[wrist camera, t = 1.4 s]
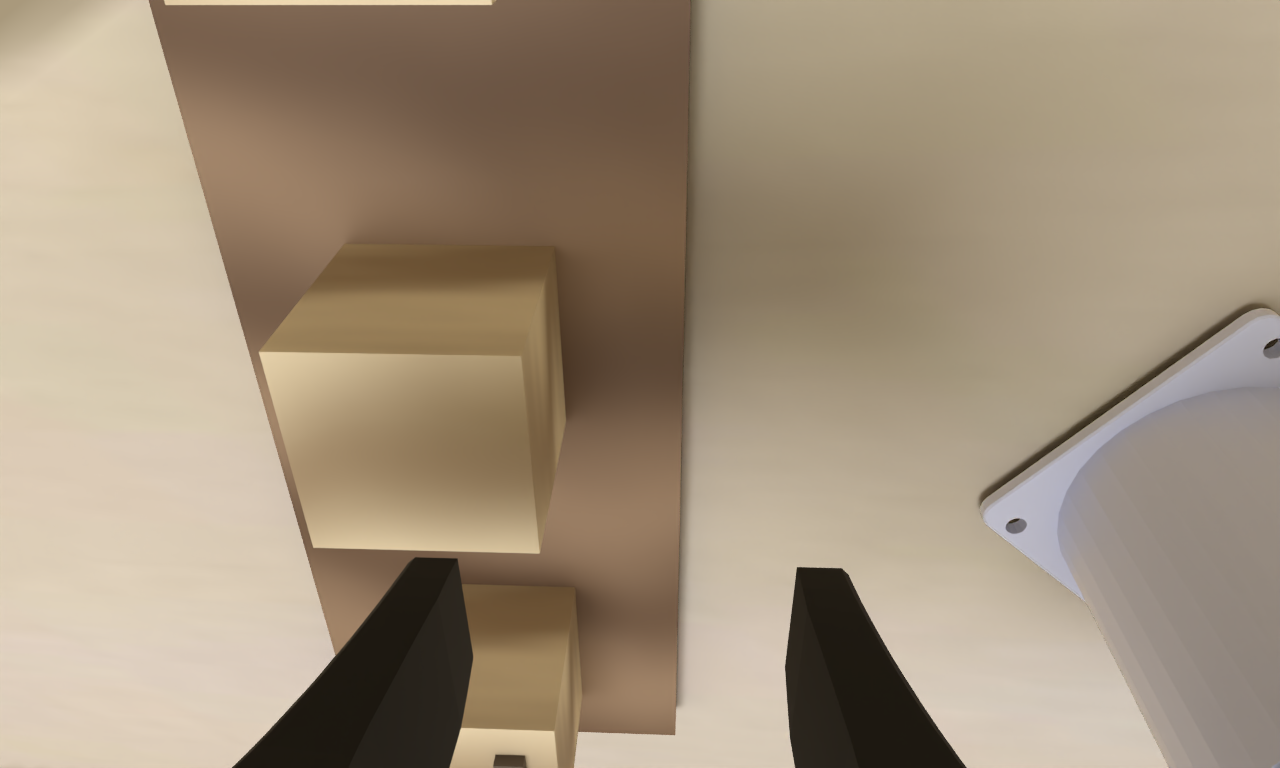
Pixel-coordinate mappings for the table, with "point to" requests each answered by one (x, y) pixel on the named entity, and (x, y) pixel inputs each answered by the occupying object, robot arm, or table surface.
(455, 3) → the block one
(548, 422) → the plain block
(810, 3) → the table surface
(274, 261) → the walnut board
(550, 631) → the block seven
